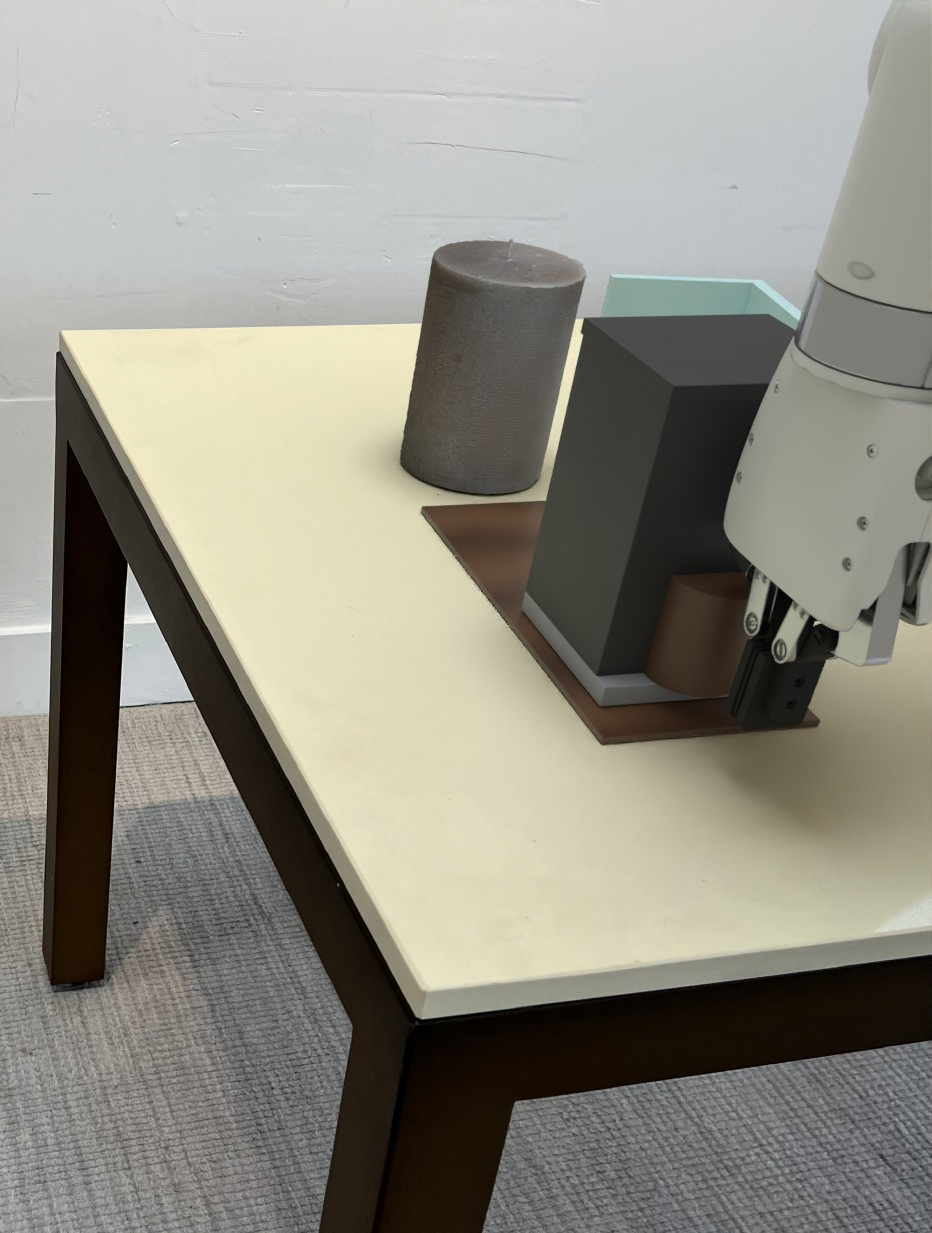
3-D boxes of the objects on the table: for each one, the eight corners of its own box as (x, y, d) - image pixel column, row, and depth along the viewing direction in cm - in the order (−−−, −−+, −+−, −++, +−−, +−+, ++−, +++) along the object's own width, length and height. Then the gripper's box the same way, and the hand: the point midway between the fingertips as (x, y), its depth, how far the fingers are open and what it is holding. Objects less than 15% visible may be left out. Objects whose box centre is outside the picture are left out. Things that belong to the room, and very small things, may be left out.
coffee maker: (795, 710, 71) (911, 400, 62) (611, 725, 69) (702, 407, 60) (683, 598, 81) (768, 313, 71) (518, 608, 79) (583, 317, 69)
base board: (818, 726, 71) (821, 719, 71) (601, 744, 69) (603, 737, 69) (593, 503, 92) (594, 498, 91) (420, 511, 89) (421, 505, 89)
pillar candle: (374, 445, 98) (406, 222, 89) (494, 431, 101) (536, 215, 92) (445, 504, 90) (487, 267, 82) (571, 487, 93) (625, 257, 85)
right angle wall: (588, 368, 112) (610, 273, 108) (734, 374, 113) (761, 280, 109) (633, 427, 103) (659, 325, 98) (792, 432, 103) (825, 331, 99)
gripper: (1121, 401, 50) (932, 808, 61) (870, 273, 62) (749, 633, 72) (938, 408, 48) (777, 823, 59) (717, 276, 60) (616, 642, 71)
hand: (762, 718), depth 66 cm, fingers closed
